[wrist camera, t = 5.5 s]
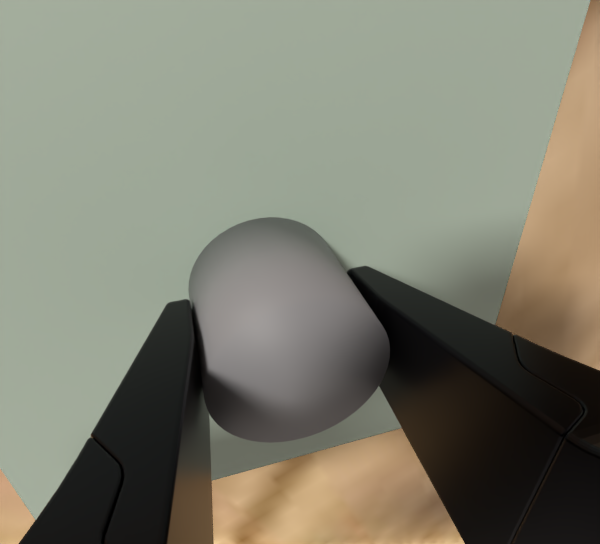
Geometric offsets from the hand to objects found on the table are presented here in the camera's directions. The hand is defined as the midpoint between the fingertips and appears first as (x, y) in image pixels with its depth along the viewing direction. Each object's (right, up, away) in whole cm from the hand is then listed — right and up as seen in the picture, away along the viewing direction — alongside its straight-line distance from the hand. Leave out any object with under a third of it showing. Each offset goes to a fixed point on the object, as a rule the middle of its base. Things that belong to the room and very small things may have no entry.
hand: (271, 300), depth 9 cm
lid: (0, +1, +1) cm, 2 cm away
